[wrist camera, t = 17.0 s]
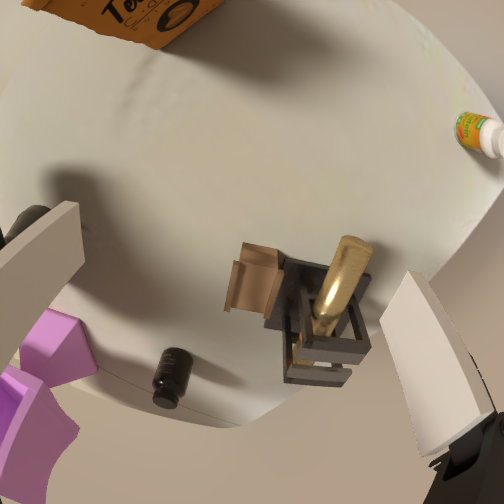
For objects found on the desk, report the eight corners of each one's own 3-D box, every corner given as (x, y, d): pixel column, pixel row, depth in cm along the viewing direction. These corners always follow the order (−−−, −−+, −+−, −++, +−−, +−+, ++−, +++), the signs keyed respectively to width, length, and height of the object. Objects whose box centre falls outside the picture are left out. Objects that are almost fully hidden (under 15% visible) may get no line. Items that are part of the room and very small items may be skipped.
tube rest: (229, 285, 44) (223, 310, 39) (237, 241, 40) (232, 264, 35) (269, 292, 45) (269, 319, 39) (282, 250, 41) (284, 274, 35)
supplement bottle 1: (199, 364, 56) (189, 412, 46) (173, 367, 58) (161, 412, 47) (182, 344, 53) (168, 393, 42) (156, 348, 54) (139, 395, 44)
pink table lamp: (82, 315, 52) (-4, 493, 13) (103, 372, 63) (51, 513, 25) (17, 292, 51) (-70, 426, 12) (43, 348, 62) (-16, 466, 24)
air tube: (311, 366, 44) (303, 383, 41) (289, 355, 45) (279, 372, 42) (374, 245, 32) (371, 259, 28) (344, 231, 33) (337, 243, 30)
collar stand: (264, 323, 48) (261, 388, 37) (285, 257, 41) (290, 323, 30) (337, 334, 49) (349, 395, 38) (369, 274, 42) (396, 336, 30)
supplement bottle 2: (457, 105, 27) (501, 114, 19) (481, 121, 27) (523, 134, 19) (449, 138, 30) (491, 155, 21) (472, 152, 30) (513, 172, 22)
